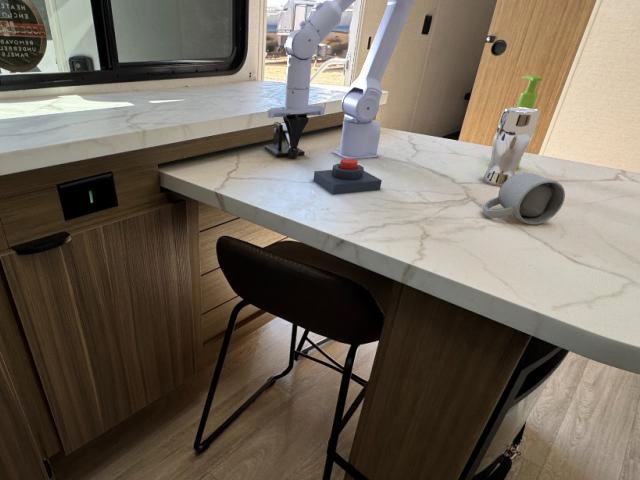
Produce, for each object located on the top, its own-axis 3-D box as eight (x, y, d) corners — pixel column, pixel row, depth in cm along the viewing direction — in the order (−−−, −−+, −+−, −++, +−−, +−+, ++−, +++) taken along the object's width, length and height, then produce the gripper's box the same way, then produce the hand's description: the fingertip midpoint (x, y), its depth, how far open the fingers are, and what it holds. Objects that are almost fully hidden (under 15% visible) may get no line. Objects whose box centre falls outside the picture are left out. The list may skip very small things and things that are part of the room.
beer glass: (521, 186, 90) (549, 112, 82) (489, 186, 90) (513, 112, 82) (505, 177, 96) (529, 106, 88) (474, 177, 96) (496, 106, 88)
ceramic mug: (527, 207, 79) (543, 167, 75) (555, 224, 72) (574, 181, 68) (472, 209, 79) (484, 168, 75) (494, 225, 72) (509, 182, 68)
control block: (357, 177, 96) (359, 159, 94) (380, 190, 88) (383, 171, 86) (313, 180, 94) (315, 163, 92) (333, 195, 86) (335, 175, 84)
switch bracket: (304, 156, 112) (306, 125, 108) (276, 158, 111) (277, 127, 106) (290, 147, 120) (292, 119, 116) (264, 149, 119) (265, 120, 114)
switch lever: (298, 159, 110) (301, 151, 107) (288, 160, 109) (290, 152, 107) (287, 130, 115) (290, 121, 112) (277, 131, 114) (279, 122, 111)
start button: (351, 166, 91) (352, 157, 90) (359, 170, 88) (360, 162, 87) (336, 167, 90) (337, 159, 89) (344, 171, 87) (345, 163, 86)
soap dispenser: (509, 163, 106) (540, 74, 95) (521, 170, 100) (556, 77, 89) (485, 162, 107) (513, 74, 96) (496, 170, 101) (527, 77, 90)
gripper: (318, 85, 105) (313, 141, 113) (264, 87, 102) (262, 144, 110) (330, 88, 100) (324, 147, 107) (273, 90, 97) (271, 150, 104)
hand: (293, 146), depth 108 cm, fingers closed, pressing on switch lever
